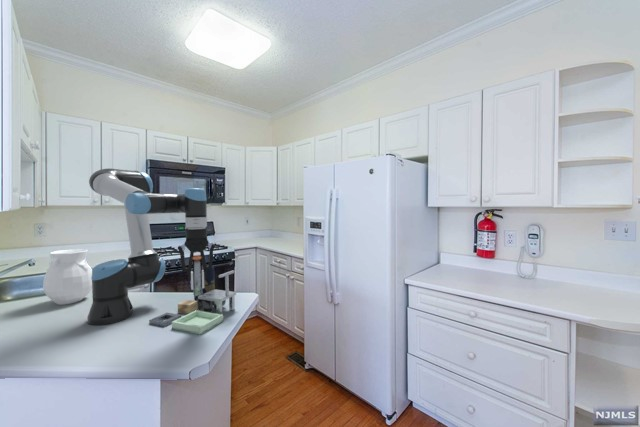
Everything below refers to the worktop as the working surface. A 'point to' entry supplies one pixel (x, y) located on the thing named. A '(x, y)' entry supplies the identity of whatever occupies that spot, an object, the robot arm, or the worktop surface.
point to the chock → (187, 306)
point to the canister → (207, 283)
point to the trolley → (218, 297)
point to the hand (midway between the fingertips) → (197, 287)
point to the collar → (160, 319)
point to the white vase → (68, 276)
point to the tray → (197, 322)
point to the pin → (197, 275)
